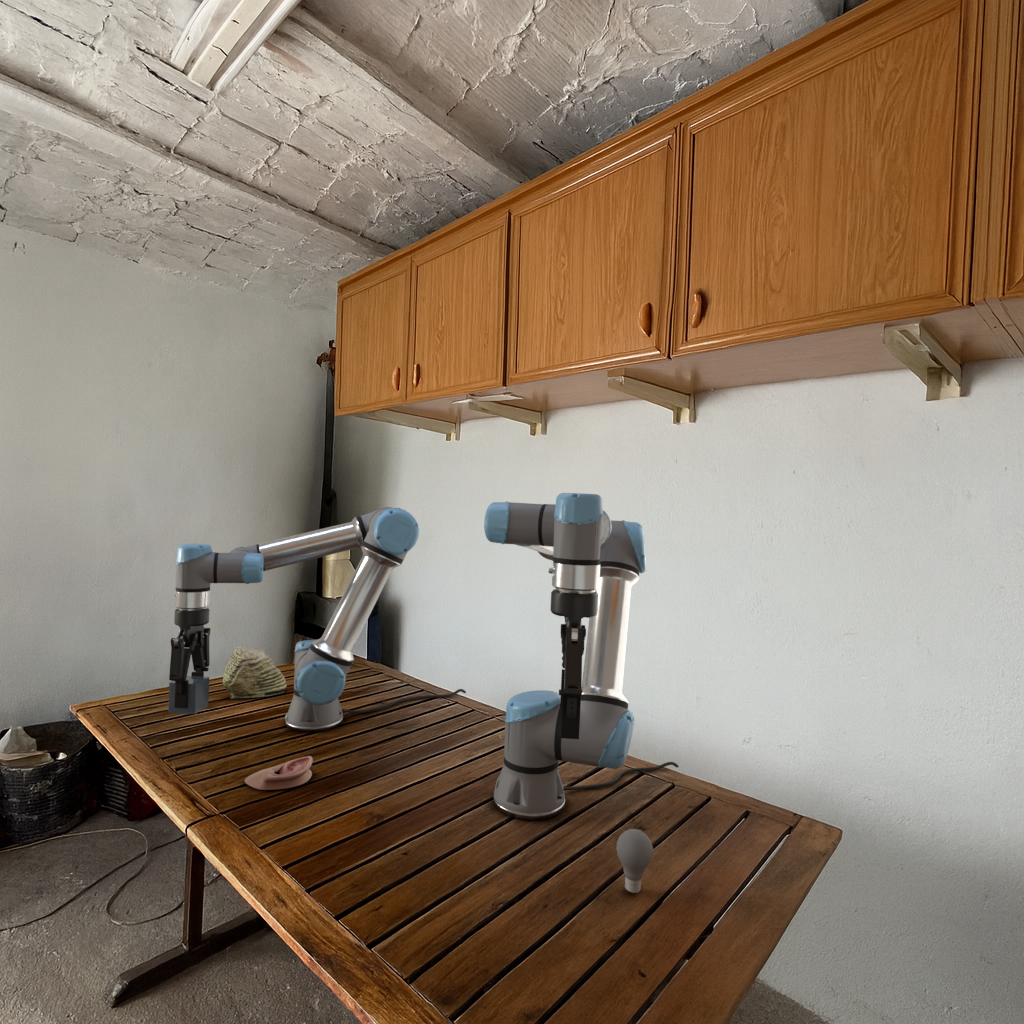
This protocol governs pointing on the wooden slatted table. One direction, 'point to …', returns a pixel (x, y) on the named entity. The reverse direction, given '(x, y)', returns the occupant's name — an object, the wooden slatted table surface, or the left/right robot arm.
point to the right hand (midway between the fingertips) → (568, 722)
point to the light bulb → (634, 857)
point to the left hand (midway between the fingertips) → (189, 702)
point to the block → (191, 695)
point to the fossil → (252, 674)
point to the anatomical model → (282, 775)
